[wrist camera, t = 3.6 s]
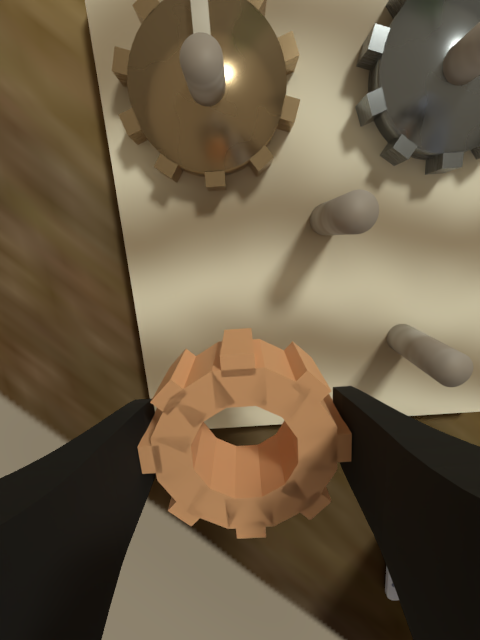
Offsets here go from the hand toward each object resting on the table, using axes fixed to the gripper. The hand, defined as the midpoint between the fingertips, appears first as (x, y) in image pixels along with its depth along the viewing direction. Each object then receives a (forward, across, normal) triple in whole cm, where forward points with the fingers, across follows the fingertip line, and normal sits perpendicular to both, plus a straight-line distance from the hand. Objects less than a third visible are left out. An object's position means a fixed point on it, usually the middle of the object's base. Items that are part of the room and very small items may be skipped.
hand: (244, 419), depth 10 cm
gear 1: (+5, +1, -12) cm, 13 cm away
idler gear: (+1, 0, 0) cm, 1 cm away
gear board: (+7, -4, -6) cm, 10 cm away
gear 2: (+6, -9, -12) cm, 16 cm away
